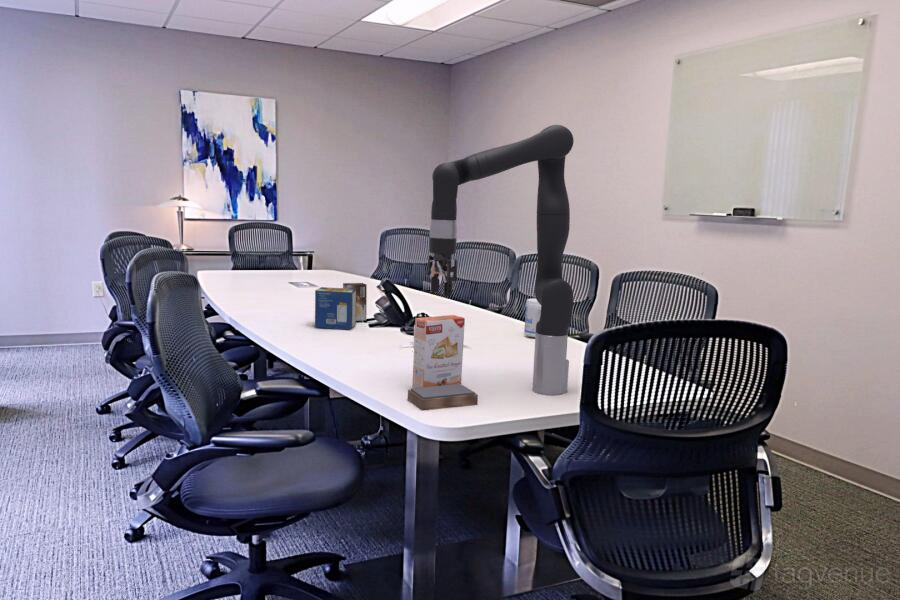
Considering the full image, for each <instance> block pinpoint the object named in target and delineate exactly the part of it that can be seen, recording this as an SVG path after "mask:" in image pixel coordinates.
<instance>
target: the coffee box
mask: <svg viewBox="0 0 900 600" xmlns="http://www.w3.org/2000/svg"><path fill="white" fill-rule="evenodd" d="M367 287H368V286H367V284H366V283H364V282H342V288H353V289H356V322H358V321H367V315H368V314H367V298H368V297H367V294H368V292H367V290H368V289H367Z"/></svg>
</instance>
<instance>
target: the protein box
mask: <svg viewBox="0 0 900 600" xmlns="http://www.w3.org/2000/svg"><path fill="white" fill-rule="evenodd" d="M314 291H315V292H314V294H315V295H314V302H315V303H314V328H318V329H320V328H322V329H339V330H340V329H341V330H345V329H346V330H352V329H353V328H354V327H355V326H356V325H357V321H356V289H353V288H343V287H324V286H323V287H319V288H317V289H315V290H314Z"/></svg>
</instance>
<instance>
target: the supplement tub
mask: <svg viewBox="0 0 900 600" xmlns="http://www.w3.org/2000/svg"><path fill="white" fill-rule="evenodd" d="M525 303H526V304H525V314H524V317H525V318H524V331H523V332H524V335H525V336H527V337H532V338H535V334H536V324H537V322H538V321H539V320H540V315H541V305H540V304H539V303H538V301H537V299H536V298H528V299H526V302H525Z"/></svg>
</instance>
